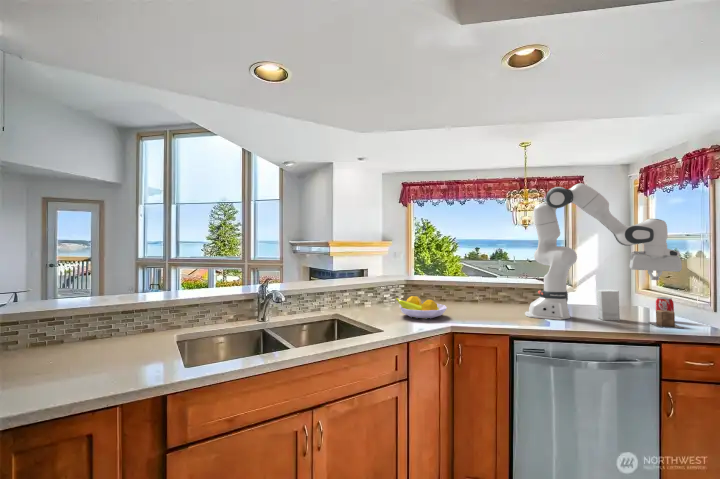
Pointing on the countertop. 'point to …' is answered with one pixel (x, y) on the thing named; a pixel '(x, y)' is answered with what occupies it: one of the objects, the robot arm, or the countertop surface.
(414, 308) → the fruit bowl
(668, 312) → the shipping carton
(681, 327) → the square metal plate
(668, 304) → the soda can
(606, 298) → the skincare box
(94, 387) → the countertop surface
